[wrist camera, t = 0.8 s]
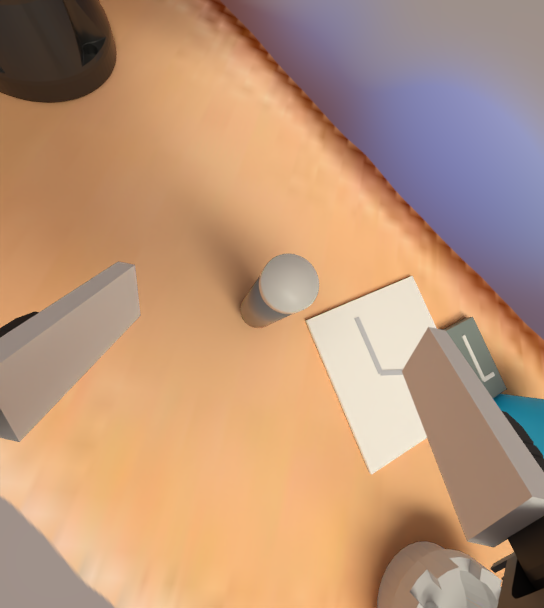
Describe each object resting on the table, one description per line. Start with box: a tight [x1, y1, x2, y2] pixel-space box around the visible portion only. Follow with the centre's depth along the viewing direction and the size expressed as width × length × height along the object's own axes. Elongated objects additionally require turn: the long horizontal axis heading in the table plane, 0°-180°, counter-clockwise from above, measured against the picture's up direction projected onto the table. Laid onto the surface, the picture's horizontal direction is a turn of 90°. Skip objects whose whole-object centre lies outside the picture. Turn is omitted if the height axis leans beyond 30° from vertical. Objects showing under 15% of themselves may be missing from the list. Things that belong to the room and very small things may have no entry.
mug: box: [493, 394, 544, 458], centre depth 31 cm, size 12×8×8 cm
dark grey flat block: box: [443, 317, 507, 398], centre depth 35 cm, size 10×5×1 cm, turn 23°
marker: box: [240, 254, 319, 328], centre depth 24 cm, size 4×4×13 cm
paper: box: [306, 276, 437, 474], centre depth 33 cm, size 18×16×1 cm
